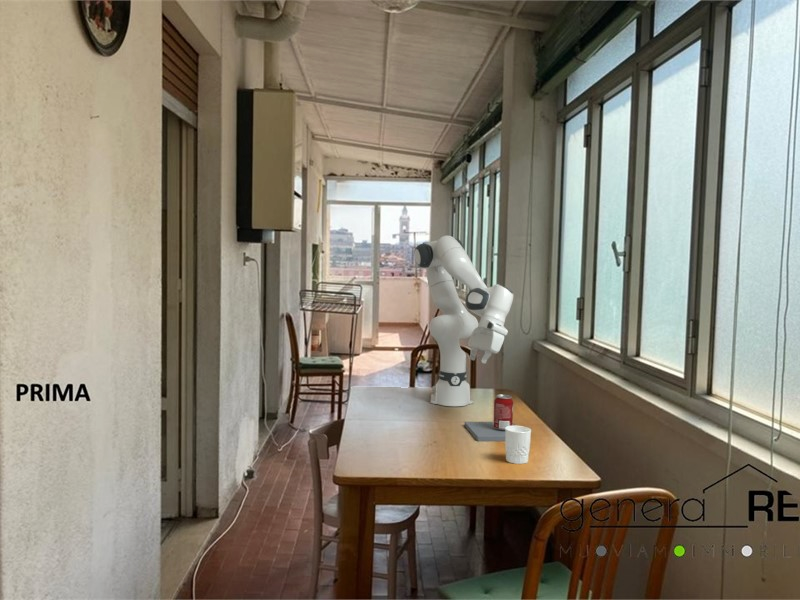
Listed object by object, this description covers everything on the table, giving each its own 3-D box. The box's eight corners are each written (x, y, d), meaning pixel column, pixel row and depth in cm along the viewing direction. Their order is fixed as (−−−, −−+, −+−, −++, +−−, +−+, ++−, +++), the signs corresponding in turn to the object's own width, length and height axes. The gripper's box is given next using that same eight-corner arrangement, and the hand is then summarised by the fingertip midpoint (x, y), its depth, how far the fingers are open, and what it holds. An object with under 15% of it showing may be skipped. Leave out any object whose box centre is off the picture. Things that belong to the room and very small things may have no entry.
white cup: (501, 456, 192) (502, 425, 191) (525, 456, 192) (527, 425, 192) (507, 464, 184) (508, 432, 183) (533, 464, 185) (534, 432, 184)
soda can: (511, 432, 215) (513, 399, 214) (492, 430, 216) (493, 397, 215) (512, 427, 221) (514, 395, 220) (493, 425, 223) (495, 393, 222)
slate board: (464, 425, 228) (464, 421, 228) (510, 425, 230) (511, 421, 230) (477, 441, 208) (478, 436, 208) (528, 440, 210) (528, 436, 210)
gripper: (471, 321, 236) (458, 355, 234) (495, 325, 216) (481, 361, 215) (485, 327, 237) (472, 360, 236) (510, 331, 218) (496, 367, 217)
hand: (477, 361), depth 225 cm, fingers open, 8 cm apart
